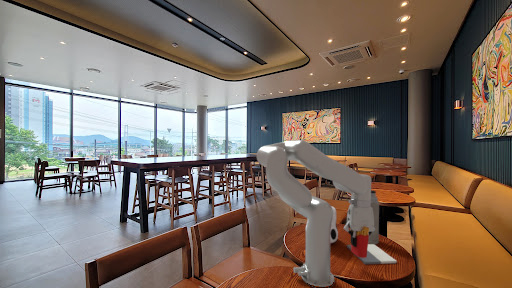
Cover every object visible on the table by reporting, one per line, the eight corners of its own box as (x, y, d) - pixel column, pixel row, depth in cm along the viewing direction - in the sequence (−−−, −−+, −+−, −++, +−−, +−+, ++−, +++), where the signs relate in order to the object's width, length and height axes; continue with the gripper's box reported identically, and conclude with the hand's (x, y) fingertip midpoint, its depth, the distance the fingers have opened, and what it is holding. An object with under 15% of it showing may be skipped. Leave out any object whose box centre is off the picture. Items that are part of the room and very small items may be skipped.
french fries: (347, 249, 95) (348, 220, 95) (356, 248, 96) (356, 219, 96) (362, 260, 86) (363, 228, 86) (371, 259, 87) (372, 227, 87)
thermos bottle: (364, 243, 115) (365, 191, 115) (360, 237, 122) (361, 188, 122) (380, 244, 113) (381, 192, 113) (375, 238, 121) (376, 189, 121)
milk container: (305, 245, 112) (305, 211, 112) (305, 232, 129) (305, 202, 129) (340, 249, 108) (340, 214, 108) (335, 235, 125) (335, 204, 125)
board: (365, 264, 94) (365, 262, 94) (346, 246, 110) (346, 245, 110) (396, 263, 96) (396, 260, 96) (373, 246, 112) (373, 244, 112)
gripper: (346, 205, 87) (344, 249, 86) (384, 206, 88) (383, 250, 88) (337, 200, 94) (336, 241, 94) (373, 201, 95) (371, 241, 95)
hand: (358, 245), depth 91 cm, fingers closed on french fries, 4 cm apart
